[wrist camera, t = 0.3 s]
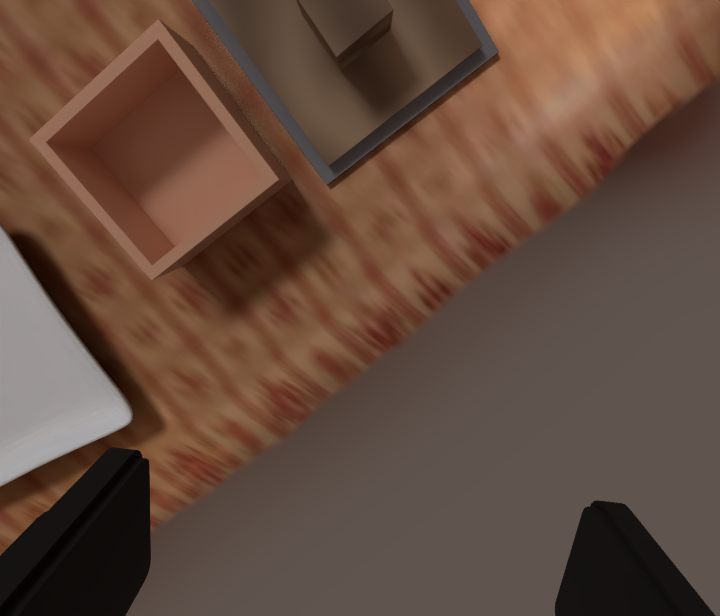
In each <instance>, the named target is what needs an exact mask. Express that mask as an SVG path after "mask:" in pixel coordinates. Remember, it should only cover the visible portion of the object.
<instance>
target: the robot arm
mask: <svg viewBox="0 0 720 616" xmlns="http://www.w3.org/2000/svg"><path fill="white" fill-rule="evenodd" d="M150 550H151V548H150V475H149V461H148V459H146V458H142V454H141V452H140V451H138V450H130V449H121V448H110V449H108V450H107V451H106V452H105V453H104V454H103V455H102V456H101V457H100V458H99V459H98V460H97V461H96V462H95V463H94V464H93V465H92V466H91V467H90V468H89V469H88V470H87V471H86V473H85V474H84V475H83V476H82V477H81V478H80V479H79V480H78V481H77V482H76V483H75V484H74V485H73V486H72V487H71V488H70V489H69V490H68V491H67V492H66V493H65V494H64V495H63V496H62V497H61V498H60V499H59V500H58V501H57V502H56V503H55V504H54V505H53V507H52V508H51V509H50V510H49V511H47V512H45V513H43V514H42V515H41V516H39V517H38V518H37V519H36V520H35V521H34V522H33V523H32V524H31V525H30V526H29V527H28V528H27V529H26V530H25V531H24V532H23V533H22V534H21V535H20V536H19V537H18V538H17V539H16V540H15V541H14V542H13V543H12V544H11V545H10V546H9V547H8V548H7V549H6V550H5V552H4V553H3V554H2V555H1V556H0V616H125V615H126V613H127V612H128V610H129V608H130V606H131V604H132V603H133V601H134V599H135V597H136V596H137V594H138V592H139V590H140V588H141V587H142V585H143V583H144V581H145V579H146V577H147V574H148V571H149V567H150V560H151V551H150ZM555 615H556V616H715V615H714V613H713V612H712V611H711V610H710V609H709V607H708V606H707V605H706V604H705V602H704V601H703V600H702V599H701V597H700V596H699V595H698V594H697V592H696V591H695V590H694V589H693V587H692V586H691V585H690V584H689V582H688V581H687V580H686V579H685V577H684V576H683V575H682V574H681V572H680V571H679V570H678V569H677V568H676V566H675V565H674V564H673V562H672V561H671V560H670V559H669V557H668V556H667V555H666V554H665V552H664V551H663V550H662V549H661V547H660V546H659V545H658V544H657V542H656V541H655V540H654V539H653V537H652V536H651V535H650V534H649V532H648V531H647V530H646V529H645V527H644V526H643V525H642V524H641V522H640V521H639V520H638V519H637V517H635V515H634V514H633V512H632V511H631V510H630V509H629V508H628V507H627V506H626V505H625V504H622V503H614V502H606V501H594V502H593V503H592V504H591V506H590V507H586V508H584V510H583V512H582V515H581V519H580V522H579V525H578V529H577V532H576V535H575V539H574V542H573V546H572V549H571V553H570V556H569V559H568V562H567V566H566V569H565V573H564V576H563V579H562V583H561V586H560V589H559V593H558V596H557V599H556V603H555Z"/></svg>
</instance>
